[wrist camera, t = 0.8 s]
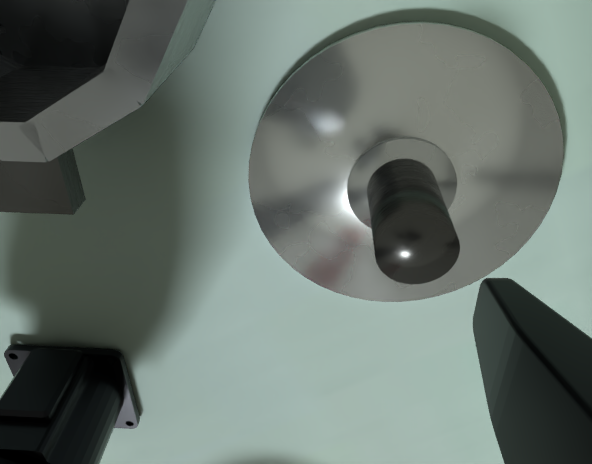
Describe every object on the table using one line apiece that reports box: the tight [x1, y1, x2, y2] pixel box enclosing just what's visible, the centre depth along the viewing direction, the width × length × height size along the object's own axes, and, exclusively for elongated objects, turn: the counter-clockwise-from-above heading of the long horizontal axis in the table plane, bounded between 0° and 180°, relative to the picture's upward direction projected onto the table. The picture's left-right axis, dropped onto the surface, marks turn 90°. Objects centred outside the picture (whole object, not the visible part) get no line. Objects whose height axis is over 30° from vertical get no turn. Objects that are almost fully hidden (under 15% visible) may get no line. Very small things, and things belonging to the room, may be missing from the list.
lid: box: [249, 21, 564, 302], centre depth 19 cm, size 13×13×5 cm
